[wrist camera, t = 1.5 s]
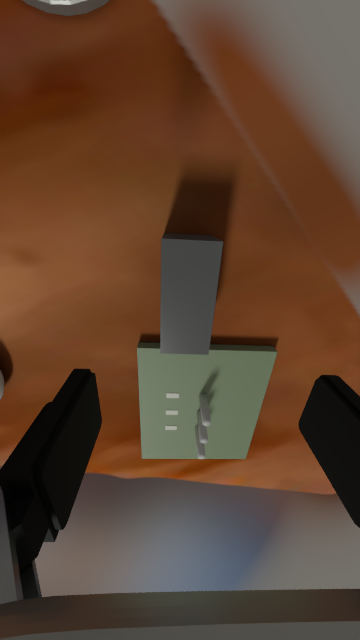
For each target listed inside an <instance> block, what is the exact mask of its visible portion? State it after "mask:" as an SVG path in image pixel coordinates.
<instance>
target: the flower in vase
mask: <svg viewBox="0 0 360 640" xmlns="http://www.w3.org/2000/svg"><path fill="white" fill-rule="evenodd" d="M3 392H4V378H3V375H2V372H1V370H0V399H1V398H2V396H3Z"/></svg>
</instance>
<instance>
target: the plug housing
mask: <svg viewBox="0 0 360 640" xmlns="http://www.w3.org/2000/svg"><path fill="white" fill-rule="evenodd" d="M222 248H223V241H221V240H220V239H218V238H216V237H214V236H213V235H196V234H176V233H164V234H163V236H162V239H161V326H160V354H196V355H209V348H210V340H211V332H212V325H213V317H214V309H215V302H216V294H217V286H218V279H219V271H220V263H221V256H222Z"/></svg>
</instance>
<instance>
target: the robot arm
mask: <svg viewBox="0 0 360 640" xmlns="http://www.w3.org/2000/svg"><path fill="white" fill-rule="evenodd" d="M23 1H24V2H25V3H27V4H29V5H31V6H33V7H36V8H38V9H40V10H43V11H45V12H47V13H53V14H59V15H65V16H70V15H78V14H86V13H88V12H90V11H92V10H95V9H97V8H99V7H102V6H103V5H104V4H106V3H107V2H108V1H109V0H23ZM101 423H102V417H101V411H100V404H99V397H98V390H97V383H96V377H95V373H91V370H90V369H74V370H73V371H72V372H71V374H70V375H69V377H68V378H67V380H66V381H65V383H64V385H63V386H62V388H61V389H60V391H59V392H58V394H57V395H56V397H55V398H54V400H53V401H52V402H49V403H47V404H46V405H45V406H44V407H43V409H42V410H41V412H40V413H39V414H38V416H37V417H36V419H35V420H34V422H33V423H32V425H31V426H30V427H29V429H28V430H27V432H26V433H25V435H24V436H23V438H22V439H21V440H20V442H19V443H18V445H17V446H16V448H15V449H14V451H13V452H12V454H11V455H10V456H9V458H8V459H7V461H6V462H5V464H4V465H3V467H2V468H1V469H0V640H360V589H311V590H310V589H309V590H249V591H248V590H247V591H197V592H194V591H193V592H152V593H151V592H147V593H112V594H89V595H67V596H50V597H42V594H41V589H40V584H39V579H38V574H37V569H36V564H35V558H36V557H37V556H38V554H39V551H40V549H41V546H42V544H43V542H55V540H56V537H57V534H58V532H59V530H63V529H64V528H65V526H66V524H67V521H68V519H69V516H70V513H71V510H72V507H73V505H74V502H75V499H76V496H77V493H78V490H79V487H80V485H81V482H82V479H83V476H84V473H85V471H86V468H87V465H88V462H89V459H90V456H91V454H92V451H93V448H94V445H95V442H96V439H97V437H98V434H99V431H100V428H101ZM299 429H300V431H301V433H302V435H303V437H304V438H305V440H306V442H307V443H308V445H309V447H310V449H311V450H312V452H313V454H314V455H315V457H316V459H317V460H318V462H319V464H320V466H321V467H322V469H323V471H324V472H325V474H326V476H327V477H328V479H329V481H330V483H331V484H332V486H333V488H334V489H335V491H336V493H337V494H338V496H339V498H340V500H341V501H342V503H343V505H344V506H345V508H346V510H347V511H348V513H349V515H350V517H351V518H352V520H353V521H354V523H355V524H356V525H357V526H358V527H359V528H360V396H359V395H358V394H357V393H355V392H354V391H353V390H352V389H351V388H350V387H349V386H348V385H347V384H346V383H345V382H344V381H343V380H342V379H341V378H340V377H339V376H336V375H321V376H320V377H319V378H318V379H316V381H315V383H314V386H313V388H312V391H311V393H310V395H309V398H308V400H307V403H306V405H305V408H304V410H303V413H302V415H301V418H300V420H299Z"/></svg>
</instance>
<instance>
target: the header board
mask: <svg viewBox="0 0 360 640" xmlns="http://www.w3.org/2000/svg"><path fill="white" fill-rule="evenodd" d="M276 355H277V350H276V349H275V348H274V346H254V345H218V344H210V348H209V355H196V354H160V343H146V342H139V343H138V347H137V356H138V379H139V401H140V424H141V447H142V459H246V456H247V453H248V449H249V446H250V442H251V439H252V436H253V432H254V429H255V426H256V422H257V419H258V416H259V412H260V409H261V405H262V402H263V399H264V395H265V392H266V389H267V385H268V382H269V379H270V375H271V372H272V368H273V365H274V362H275V358H276Z"/></svg>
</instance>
